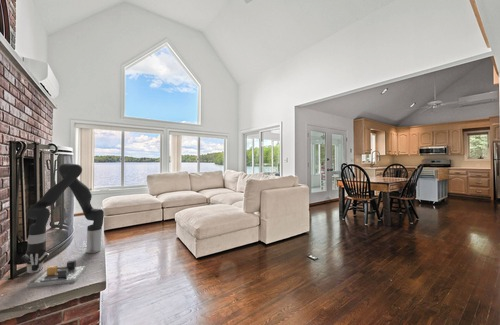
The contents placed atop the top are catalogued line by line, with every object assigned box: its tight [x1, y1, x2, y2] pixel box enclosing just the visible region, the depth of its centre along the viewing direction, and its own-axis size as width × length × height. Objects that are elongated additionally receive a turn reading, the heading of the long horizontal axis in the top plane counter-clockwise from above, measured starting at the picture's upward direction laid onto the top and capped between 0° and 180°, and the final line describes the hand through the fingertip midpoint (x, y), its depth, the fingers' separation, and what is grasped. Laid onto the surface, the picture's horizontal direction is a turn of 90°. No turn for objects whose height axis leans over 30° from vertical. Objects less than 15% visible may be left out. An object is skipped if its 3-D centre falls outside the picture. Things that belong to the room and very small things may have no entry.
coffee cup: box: [25, 249, 45, 274], centre depth 137 cm, size 9×9×15 cm
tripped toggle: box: [46, 264, 58, 275], centre depth 129 cm, size 2×4×5 cm, turn 109°
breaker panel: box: [26, 260, 87, 288], centre depth 131 cm, size 16×22×7 cm
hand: (35, 270), depth 127 cm, fingers closed
